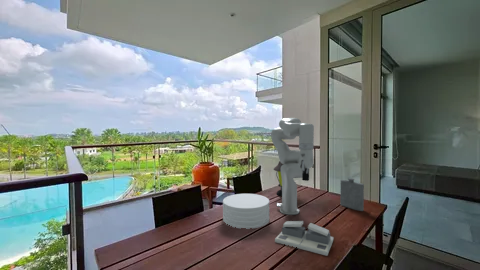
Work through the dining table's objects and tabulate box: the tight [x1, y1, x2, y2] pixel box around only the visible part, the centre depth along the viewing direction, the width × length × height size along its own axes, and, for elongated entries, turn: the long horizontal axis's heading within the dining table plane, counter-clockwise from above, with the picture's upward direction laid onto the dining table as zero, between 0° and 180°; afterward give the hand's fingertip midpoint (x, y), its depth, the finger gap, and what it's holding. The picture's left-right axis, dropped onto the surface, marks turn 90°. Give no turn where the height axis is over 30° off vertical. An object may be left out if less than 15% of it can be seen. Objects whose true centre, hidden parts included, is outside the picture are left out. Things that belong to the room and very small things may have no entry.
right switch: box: [307, 222, 330, 236], centre depth 110 cm, size 9×4×1 cm, turn 59°
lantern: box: [273, 160, 283, 197], centre depth 188 cm, size 25×19×30 cm
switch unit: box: [274, 225, 335, 257], centre depth 112 cm, size 24×16×4 cm, turn 59°
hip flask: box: [339, 177, 365, 212], centre depth 157 cm, size 16×4×20 cm, turn 34°
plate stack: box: [222, 193, 270, 230], centre depth 140 cm, size 28×28×12 cm
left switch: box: [282, 220, 304, 227], centre depth 117 cm, size 9×4×1 cm, turn 59°
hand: (305, 180), depth 125 cm, fingers closed
